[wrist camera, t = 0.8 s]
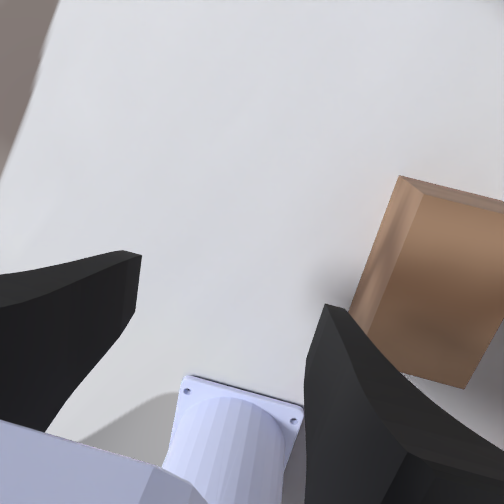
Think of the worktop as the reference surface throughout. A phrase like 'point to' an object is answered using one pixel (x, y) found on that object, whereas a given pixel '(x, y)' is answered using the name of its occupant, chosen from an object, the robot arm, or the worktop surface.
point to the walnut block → (434, 281)
